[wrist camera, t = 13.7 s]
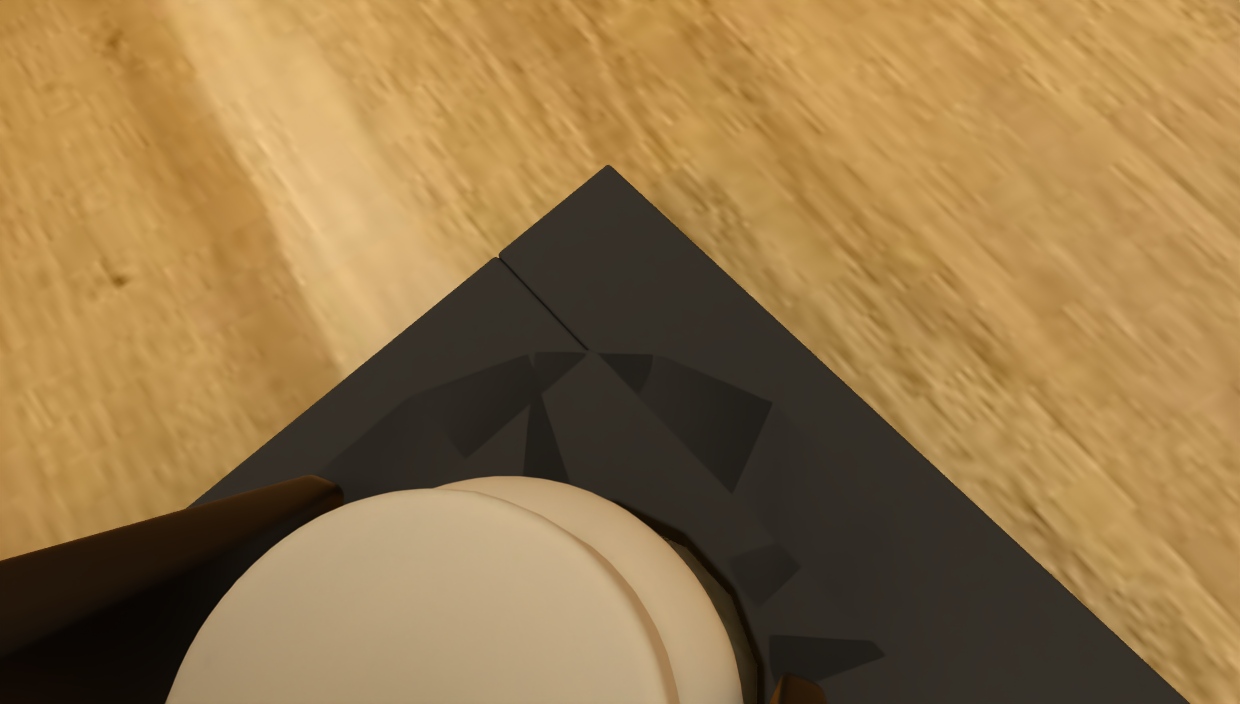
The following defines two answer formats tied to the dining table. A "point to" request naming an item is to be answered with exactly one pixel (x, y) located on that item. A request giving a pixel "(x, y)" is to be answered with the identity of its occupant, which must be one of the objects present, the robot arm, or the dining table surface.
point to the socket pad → (711, 465)
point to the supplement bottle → (465, 608)
